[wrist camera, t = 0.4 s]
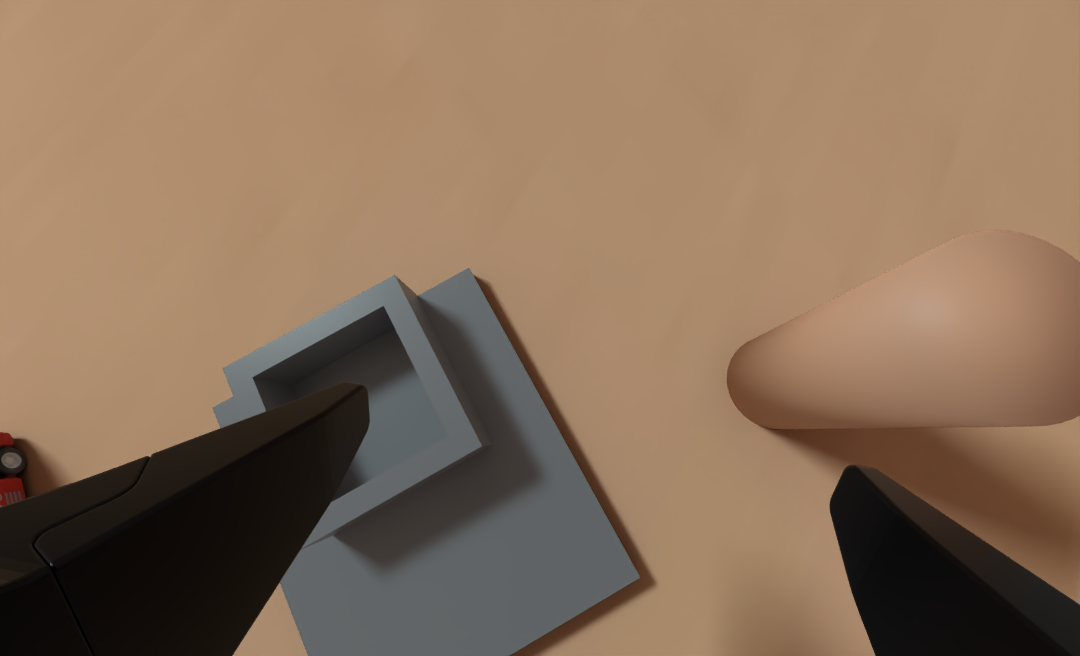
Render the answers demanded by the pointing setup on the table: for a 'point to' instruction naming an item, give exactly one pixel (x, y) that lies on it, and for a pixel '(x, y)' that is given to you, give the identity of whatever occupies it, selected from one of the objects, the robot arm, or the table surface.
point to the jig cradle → (435, 483)
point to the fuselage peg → (928, 345)
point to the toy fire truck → (10, 471)
